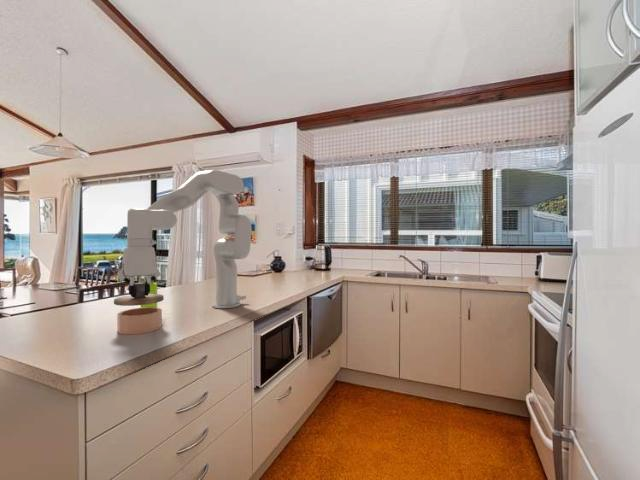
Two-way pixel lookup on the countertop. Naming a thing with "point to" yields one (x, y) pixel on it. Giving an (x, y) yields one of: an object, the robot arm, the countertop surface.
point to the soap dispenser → (152, 291)
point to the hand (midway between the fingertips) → (139, 295)
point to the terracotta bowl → (139, 320)
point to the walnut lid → (138, 297)
